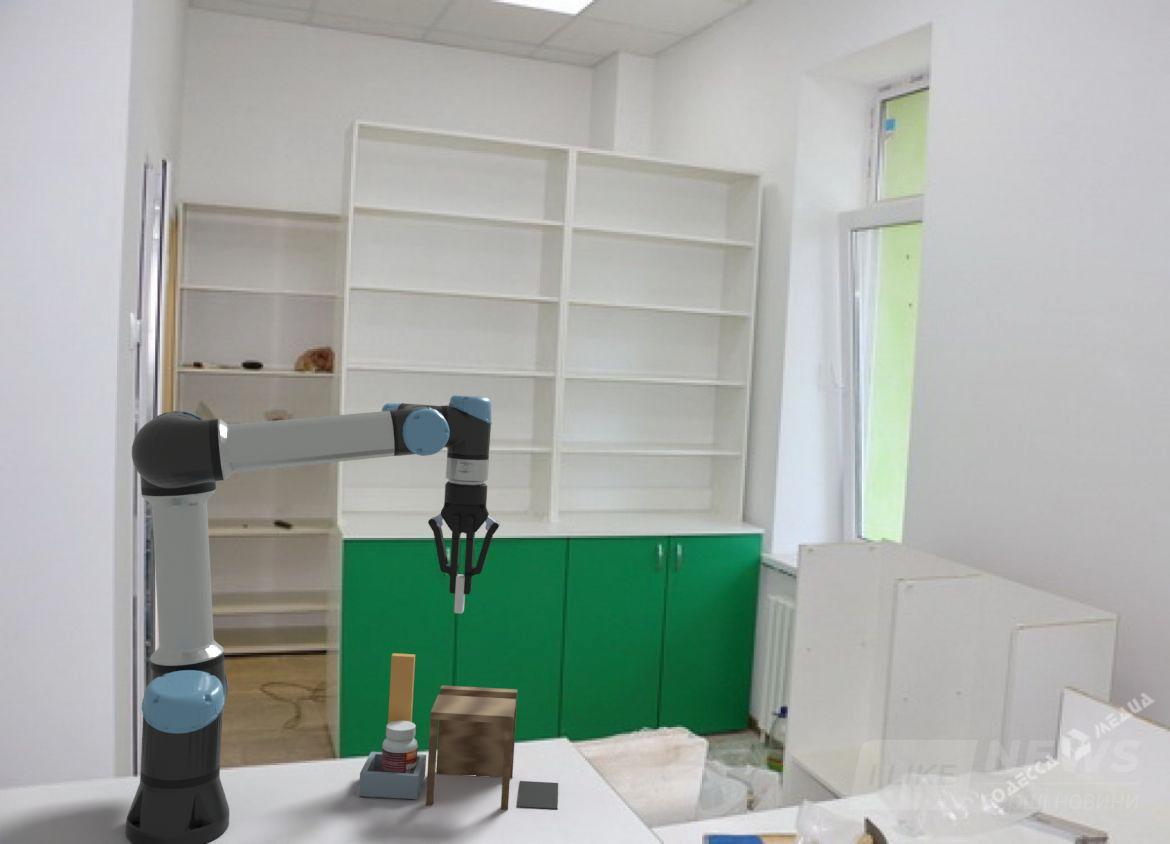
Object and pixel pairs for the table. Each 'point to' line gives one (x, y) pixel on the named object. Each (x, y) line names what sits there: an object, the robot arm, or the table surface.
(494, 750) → the wooden stand
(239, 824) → the table surface
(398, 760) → the pill bottle
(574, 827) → the table surface
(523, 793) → the mat
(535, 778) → the table surface
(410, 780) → the tray with upright plank
